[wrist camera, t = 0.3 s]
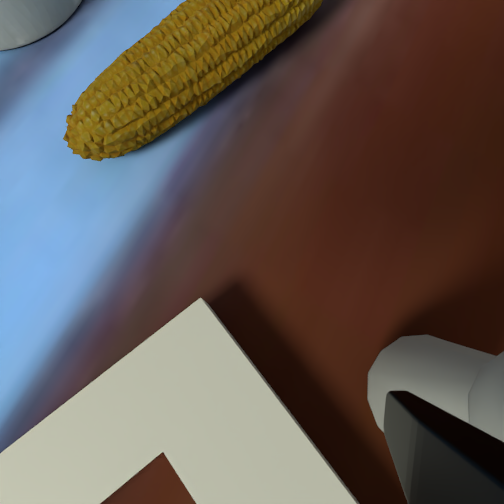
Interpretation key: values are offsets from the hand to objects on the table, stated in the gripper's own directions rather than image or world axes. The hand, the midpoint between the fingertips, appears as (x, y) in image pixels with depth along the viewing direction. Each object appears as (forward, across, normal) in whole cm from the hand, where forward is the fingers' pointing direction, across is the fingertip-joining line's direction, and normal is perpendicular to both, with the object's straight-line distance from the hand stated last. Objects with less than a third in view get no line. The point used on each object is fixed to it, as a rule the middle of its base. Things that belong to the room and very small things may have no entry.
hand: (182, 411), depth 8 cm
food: (+23, +1, -12) cm, 26 cm away
